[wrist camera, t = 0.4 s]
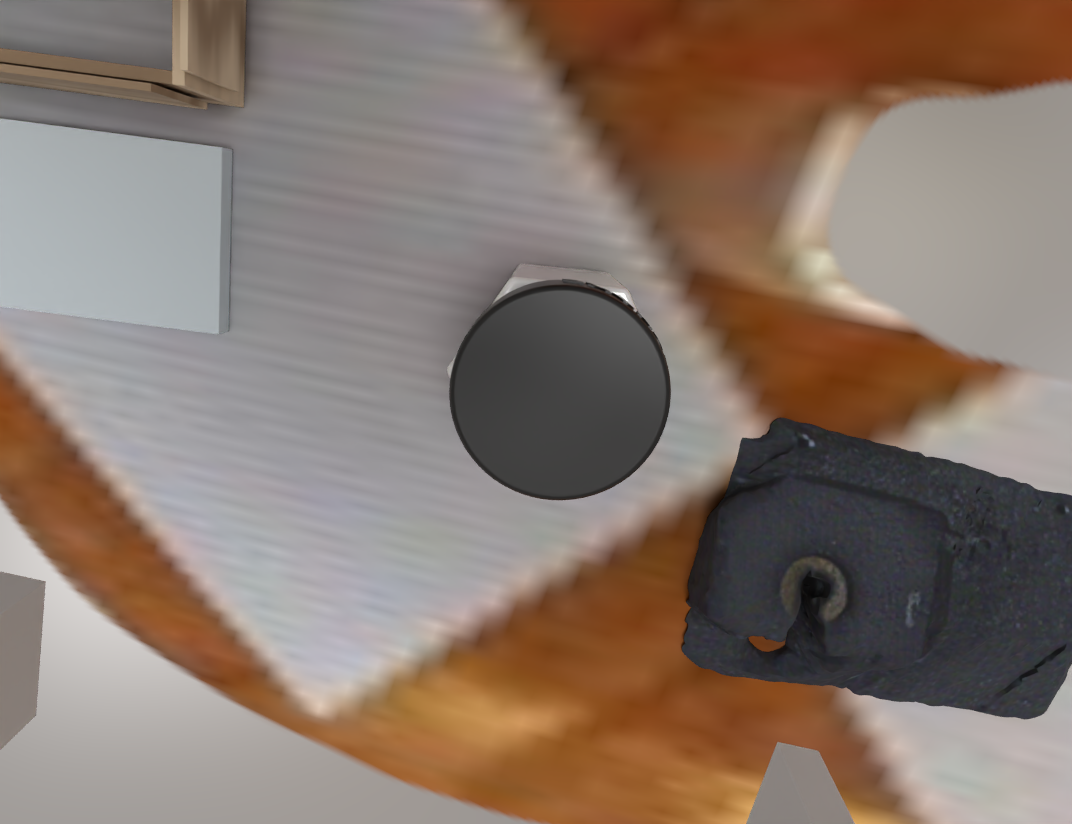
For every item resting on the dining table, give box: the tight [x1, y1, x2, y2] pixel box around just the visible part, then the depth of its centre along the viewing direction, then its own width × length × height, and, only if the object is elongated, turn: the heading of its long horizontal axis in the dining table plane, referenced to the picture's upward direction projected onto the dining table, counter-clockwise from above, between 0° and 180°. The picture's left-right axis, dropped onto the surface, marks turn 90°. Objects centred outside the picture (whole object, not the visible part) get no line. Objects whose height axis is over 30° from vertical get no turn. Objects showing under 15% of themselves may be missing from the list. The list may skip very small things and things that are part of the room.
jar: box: [447, 264, 671, 500], centre depth 33 cm, size 9×8×12 cm
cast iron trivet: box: [682, 418, 1072, 719], centre depth 40 cm, size 15×22×5 cm
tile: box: [0, 118, 232, 334], centre depth 37 cm, size 9×14×1 cm, turn 83°
